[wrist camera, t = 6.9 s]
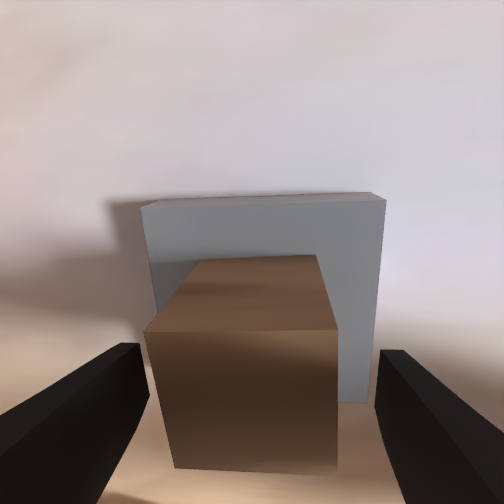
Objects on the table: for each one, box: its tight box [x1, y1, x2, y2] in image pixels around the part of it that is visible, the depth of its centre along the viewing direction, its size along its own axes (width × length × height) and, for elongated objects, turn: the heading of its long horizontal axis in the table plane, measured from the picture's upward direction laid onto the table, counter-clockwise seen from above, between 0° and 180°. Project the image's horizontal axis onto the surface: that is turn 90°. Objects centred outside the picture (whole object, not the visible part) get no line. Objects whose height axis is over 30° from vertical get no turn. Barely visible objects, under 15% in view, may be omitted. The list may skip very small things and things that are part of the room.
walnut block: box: [143, 255, 338, 476], centre depth 10 cm, size 4×4×5 cm
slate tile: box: [140, 192, 386, 403], centre depth 13 cm, size 9×9×2 cm
